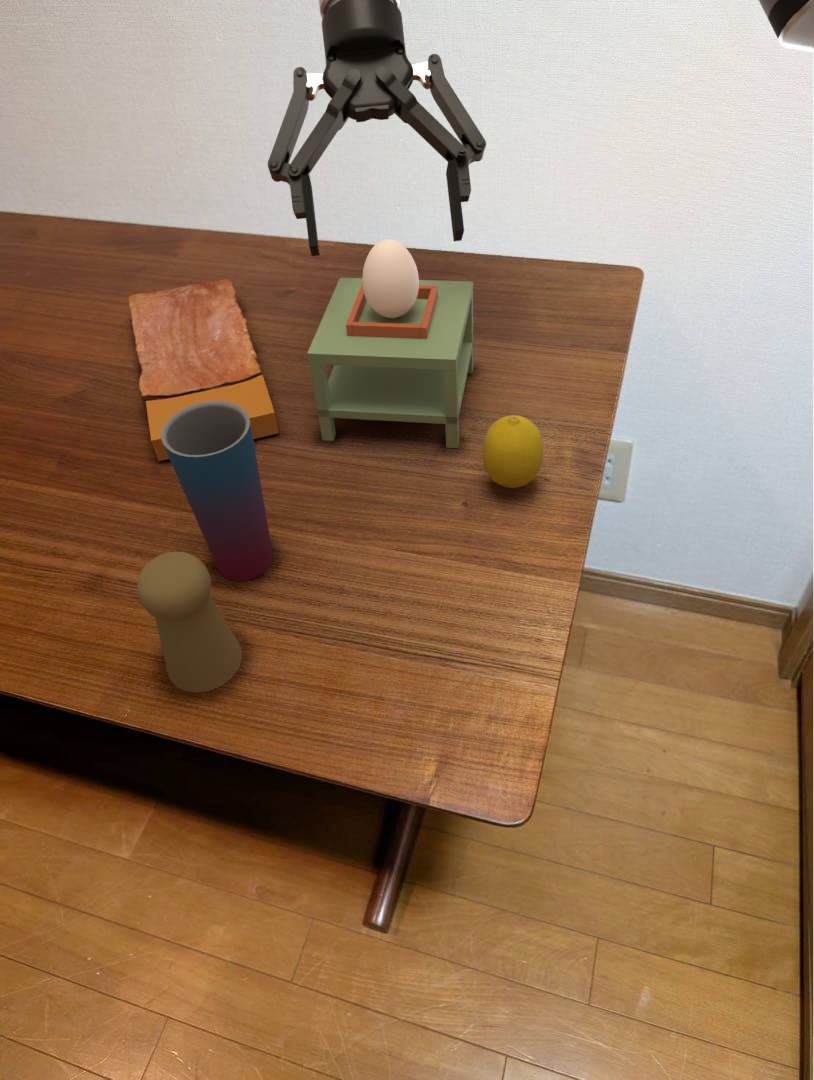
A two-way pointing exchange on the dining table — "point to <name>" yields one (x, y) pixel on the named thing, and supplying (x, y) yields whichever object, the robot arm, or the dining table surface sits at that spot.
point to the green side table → (394, 358)
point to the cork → (188, 622)
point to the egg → (390, 279)
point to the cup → (222, 484)
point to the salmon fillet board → (197, 355)
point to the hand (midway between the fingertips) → (386, 244)
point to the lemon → (512, 451)
